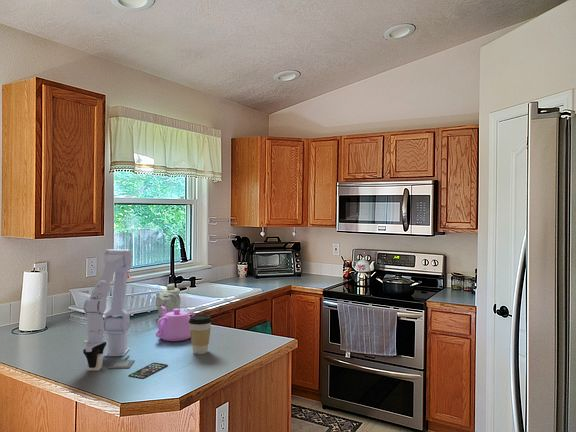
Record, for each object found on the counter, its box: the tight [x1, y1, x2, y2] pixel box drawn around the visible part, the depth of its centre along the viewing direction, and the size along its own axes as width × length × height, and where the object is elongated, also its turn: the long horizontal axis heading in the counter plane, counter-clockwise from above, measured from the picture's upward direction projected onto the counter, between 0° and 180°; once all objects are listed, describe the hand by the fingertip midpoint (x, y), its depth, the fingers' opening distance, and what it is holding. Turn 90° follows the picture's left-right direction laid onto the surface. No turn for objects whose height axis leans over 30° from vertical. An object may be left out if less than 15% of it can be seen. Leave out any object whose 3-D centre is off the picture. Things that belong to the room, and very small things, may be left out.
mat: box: [107, 359, 135, 370], centre depth 174 cm, size 8×8×1 cm
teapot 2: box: [155, 306, 196, 343], centre depth 212 cm, size 22×22×14 cm
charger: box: [87, 354, 103, 371], centre depth 170 cm, size 4×4×5 cm
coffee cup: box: [189, 314, 213, 355], centre depth 190 cm, size 10×10×15 cm
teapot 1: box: [155, 283, 182, 319], centre depth 249 cm, size 16×15×19 cm
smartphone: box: [127, 362, 169, 380], centre depth 168 cm, size 7×1×15 cm
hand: (95, 364), depth 170 cm, fingers open, 5 cm apart
